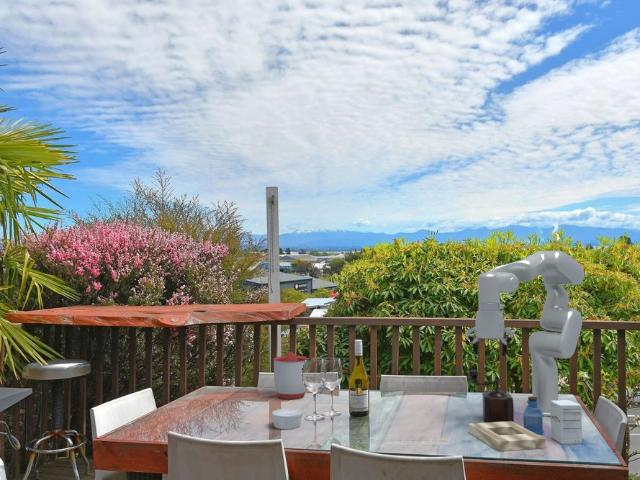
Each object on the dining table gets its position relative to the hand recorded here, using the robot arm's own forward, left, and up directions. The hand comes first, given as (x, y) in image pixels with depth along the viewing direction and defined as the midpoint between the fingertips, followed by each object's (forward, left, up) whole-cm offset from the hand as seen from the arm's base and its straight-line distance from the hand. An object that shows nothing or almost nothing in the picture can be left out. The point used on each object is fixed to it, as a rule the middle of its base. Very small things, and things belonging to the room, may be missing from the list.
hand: (490, 354), depth 222 cm
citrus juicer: (+63, -63, -26) cm, 93 cm away
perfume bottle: (-11, +10, -26) cm, 30 cm away
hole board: (+3, +17, -26) cm, 31 cm away
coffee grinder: (-4, -8, -26) cm, 27 cm away
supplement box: (-16, +22, -26) cm, 37 cm away
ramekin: (+72, -15, -26) cm, 78 cm away
